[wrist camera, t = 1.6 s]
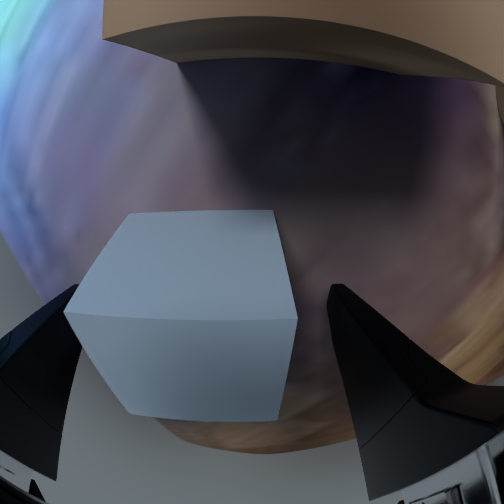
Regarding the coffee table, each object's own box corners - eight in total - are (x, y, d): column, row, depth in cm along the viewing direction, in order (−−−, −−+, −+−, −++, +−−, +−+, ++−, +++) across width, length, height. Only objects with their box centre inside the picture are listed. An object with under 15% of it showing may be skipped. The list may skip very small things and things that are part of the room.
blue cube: (272, 208, 9) (297, 318, 5) (266, 315, 12) (277, 420, 8) (129, 212, 9) (63, 311, 5) (155, 314, 12) (129, 413, 8)
